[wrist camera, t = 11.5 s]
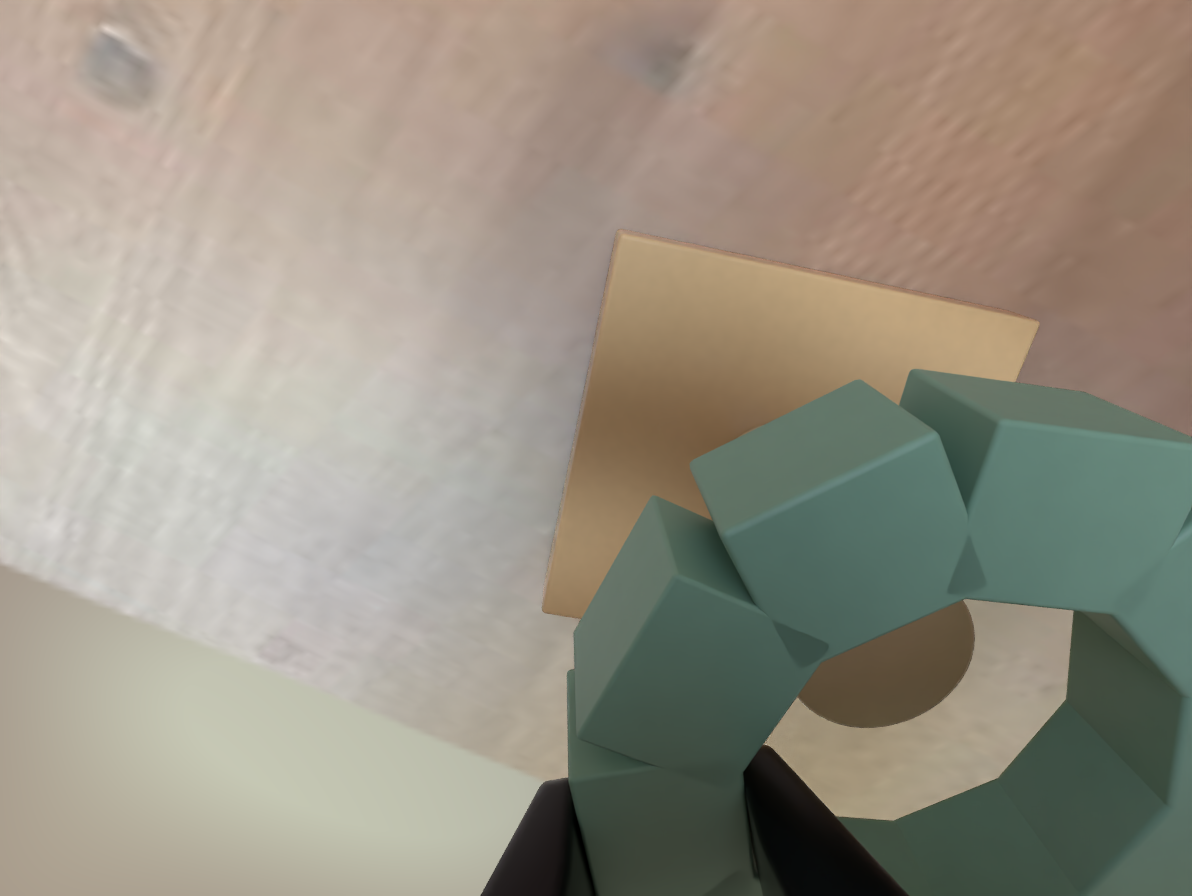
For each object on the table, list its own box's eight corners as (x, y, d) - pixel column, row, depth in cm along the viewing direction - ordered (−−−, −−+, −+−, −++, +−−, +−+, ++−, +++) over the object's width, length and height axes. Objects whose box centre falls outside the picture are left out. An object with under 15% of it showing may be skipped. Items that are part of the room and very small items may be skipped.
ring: (1258, 307, 8) (1450, 344, 6) (1167, 860, 11) (1277, 987, 9) (515, 436, 8) (501, 507, 6) (628, 948, 11) (641, 1089, 9)
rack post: (875, 640, 18) (1041, 910, 12) (543, 586, 18) (519, 840, 11) (1009, 311, 15) (1336, 420, 9) (616, 227, 15) (645, 278, 8)
